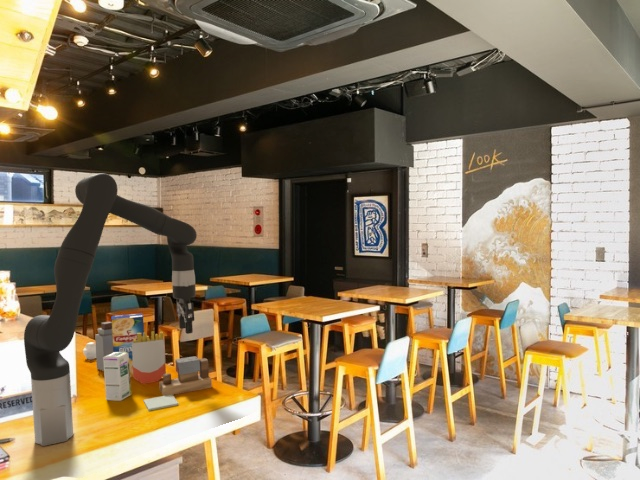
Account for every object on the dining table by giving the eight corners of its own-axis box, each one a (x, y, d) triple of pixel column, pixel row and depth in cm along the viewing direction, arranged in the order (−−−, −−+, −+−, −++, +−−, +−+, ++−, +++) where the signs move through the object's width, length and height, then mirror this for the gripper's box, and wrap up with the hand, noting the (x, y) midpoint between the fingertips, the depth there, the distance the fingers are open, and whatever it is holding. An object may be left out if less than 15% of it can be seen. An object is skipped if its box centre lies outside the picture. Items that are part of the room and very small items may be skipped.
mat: (178, 404, 159) (178, 403, 159) (148, 411, 155) (148, 409, 154) (172, 396, 167) (172, 394, 167) (143, 401, 162) (143, 399, 162)
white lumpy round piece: (96, 355, 218) (96, 339, 218) (101, 358, 214) (100, 342, 213) (81, 358, 215) (80, 342, 214) (85, 361, 210) (84, 344, 209)
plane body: (211, 387, 174) (210, 361, 173) (163, 396, 166) (162, 369, 166) (206, 381, 180) (204, 356, 180) (159, 390, 173) (158, 364, 172)
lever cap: (200, 371, 173) (199, 359, 173) (179, 374, 170) (178, 363, 169) (196, 367, 177) (195, 356, 177) (175, 370, 174) (175, 359, 174)
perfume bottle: (96, 368, 200) (94, 323, 199) (113, 364, 205) (111, 320, 204) (104, 371, 195) (102, 325, 194) (121, 367, 200) (119, 322, 199)
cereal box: (146, 374, 190) (143, 316, 189) (114, 379, 186) (111, 319, 185) (145, 369, 196) (142, 313, 195) (114, 373, 192) (111, 316, 191)
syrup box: (121, 401, 163) (119, 356, 163) (105, 400, 165) (102, 356, 164) (131, 394, 169) (129, 351, 168) (115, 394, 170) (113, 351, 169)
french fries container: (133, 381, 183) (130, 331, 182) (164, 376, 187) (162, 328, 186) (134, 385, 179) (131, 334, 178) (166, 380, 183) (163, 330, 182)
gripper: (167, 282, 176) (170, 328, 177) (177, 286, 164) (179, 336, 165) (189, 280, 180) (191, 325, 181) (200, 284, 167) (202, 333, 168)
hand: (186, 330), depth 173 cm, fingers open, 8 cm apart
